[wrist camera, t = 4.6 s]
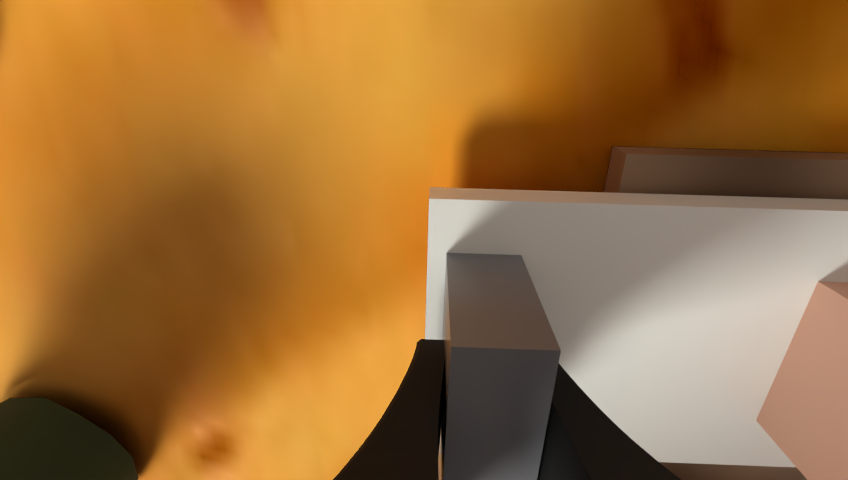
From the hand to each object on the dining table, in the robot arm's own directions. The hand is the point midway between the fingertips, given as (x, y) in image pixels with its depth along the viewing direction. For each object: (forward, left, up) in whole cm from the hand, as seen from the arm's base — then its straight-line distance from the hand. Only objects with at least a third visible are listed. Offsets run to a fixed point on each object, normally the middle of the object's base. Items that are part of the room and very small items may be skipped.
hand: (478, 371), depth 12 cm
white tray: (+8, 0, -2) cm, 9 cm away
